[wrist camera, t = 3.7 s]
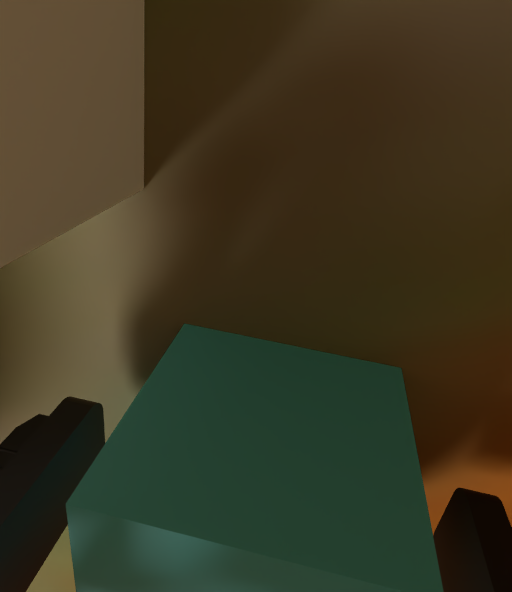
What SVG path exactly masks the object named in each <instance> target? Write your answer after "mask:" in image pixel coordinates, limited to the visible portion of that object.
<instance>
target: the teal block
mask: <svg viewBox="0 0 512 592" xmlns="http://www.w3.org/2000/svg"><path fill="white" fill-rule="evenodd" d="M66 512H67V520H68V528H69V536H70V545H71V553H72V561H73V569H74V578H75V586H76V592H443V586H442V581H441V576H440V570H439V565H438V560H437V554H436V549H435V544H434V539H433V533H432V528H431V523H430V517H429V512H428V507H427V501H426V496H425V491H424V485H423V480H422V475H421V470H420V464H419V459H418V454H417V448H416V443H415V438H414V432H413V427H412V422H411V416H410V411H409V406H408V400H407V395H406V390H405V385H404V379H403V374H402V369H401V368H399V367H394V366H389V365H385V364H380V363H375V362H370V361H365V360H360V359H355V358H350V357H346V356H341V355H336V354H331V353H326V352H321V351H316V350H311V349H307V348H302V347H297V346H292V345H287V344H282V343H277V342H272V341H268V340H263V339H258V338H253V337H248V336H243V335H238V334H233V333H229V332H224V331H219V330H214V329H209V328H204V327H199V326H195V325H190V324H185V323H184V325H183V326H182V328H181V329H180V331H179V332H178V334H177V335H176V337H175V338H174V340H173V342H172V343H171V345H170V346H169V348H168V349H167V351H166V352H165V354H164V355H163V357H162V358H161V360H160V361H159V363H158V364H157V366H156V367H155V369H154V370H153V372H152V373H151V375H150V376H149V378H148V379H147V381H146V383H145V384H144V386H143V387H142V389H141V390H140V392H139V393H138V395H137V396H136V398H135V399H134V401H133V402H132V404H131V405H130V407H129V408H128V410H127V411H126V413H125V414H124V416H123V417H122V419H121V420H120V422H119V424H118V425H117V427H116V428H115V430H114V431H113V433H112V434H111V436H110V437H109V439H108V440H107V442H106V443H105V445H104V446H103V448H102V449H101V451H100V452H99V454H98V455H97V457H96V458H95V460H94V461H93V463H92V465H91V466H90V468H89V469H88V471H87V472H86V474H85V475H84V477H83V478H82V480H81V481H80V483H79V484H78V486H77V487H76V489H75V490H74V492H73V493H72V495H71V496H70V498H69V499H68V501H67V502H66Z"/></svg>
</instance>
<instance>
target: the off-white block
mask: <svg viewBox="0 0 512 592" xmlns="http://www.w3.org/2000/svg"><path fill="white" fill-rule="evenodd" d="M143 189H144V0H0V268H1V267H3V266H5V265H7V264H9V263H10V262H12V261H14V260H16V259H18V258H19V257H21V256H23V255H25V254H27V253H29V252H30V251H32V250H34V249H36V248H38V247H39V246H41V245H43V244H45V243H47V242H48V241H50V240H52V239H54V238H56V237H58V236H59V235H61V234H63V233H65V232H67V231H68V230H70V229H72V228H74V227H76V226H77V225H79V224H81V223H83V222H85V221H87V220H88V219H90V218H92V217H94V216H96V215H97V214H99V213H101V212H103V211H105V210H107V209H108V208H110V207H112V206H114V205H116V204H117V203H119V202H121V201H123V200H125V199H126V198H128V197H130V196H132V195H134V194H136V193H137V192H139V191H141V190H143Z"/></svg>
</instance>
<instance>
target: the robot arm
mask: <svg viewBox="0 0 512 592" xmlns="http://www.w3.org/2000/svg"><path fill="white" fill-rule="evenodd" d="M104 445H105V435H104V416H103V407H102V405H101V404H100V403H96V402H92V401H87V400H83V399H79V398H74V397H67V398H65V399H64V400H63V401H62V402H61V403H60V404H59V405H58V406H57V408H56V409H55V410H54V411H53V412H52V413H51V414H50V416H46V415H42V414H38V415H37V416H35V417H33V418H32V419H30V420H28V421H27V422H25V423H23V424H21V425H20V426H18V427H16V428H15V429H14V430H13V431H12V432H11V434H10V435H9V436H8V437H7V438H6V439H5V440H4V441H3V442H2V443H1V444H0V592H26V590H27V589H28V587H29V586H30V584H31V582H32V581H33V579H34V578H35V576H36V574H37V573H38V571H39V570H40V568H41V566H42V565H43V563H44V561H45V560H46V558H47V557H48V555H49V553H50V552H51V550H52V549H53V547H54V545H55V544H56V542H57V541H58V539H59V537H60V536H61V534H62V533H63V531H64V529H65V528H66V526H67V525H68V520H67V512H66V502H67V501H68V499H69V498H70V496H71V495H72V493H73V492H74V490H75V489H76V487H77V486H78V484H79V483H80V481H81V480H82V478H83V477H84V475H85V474H86V472H87V471H88V469H89V468H90V466H91V465H92V463H93V461H94V460H95V458H96V457H97V455H98V454H99V452H100V451H101V449H102V448H103V446H104ZM433 539H434V544H435V549H436V554H437V560H438V565H439V570H440V576H441V581H442V586H443V592H512V527H511V525H510V522H509V520H508V517H507V514H506V512H505V509H504V506H503V504H502V502H501V500H500V499H499V498H498V497H497V496H494V495H490V494H485V493H481V492H477V491H472V490H468V489H464V488H457V489H456V490H455V491H454V493H453V495H452V497H451V499H450V501H449V503H448V505H447V507H446V509H445V511H444V513H443V515H442V518H441V520H440V522H439V524H438V526H437V528H436V530H435V532H434V535H433Z"/></svg>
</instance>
